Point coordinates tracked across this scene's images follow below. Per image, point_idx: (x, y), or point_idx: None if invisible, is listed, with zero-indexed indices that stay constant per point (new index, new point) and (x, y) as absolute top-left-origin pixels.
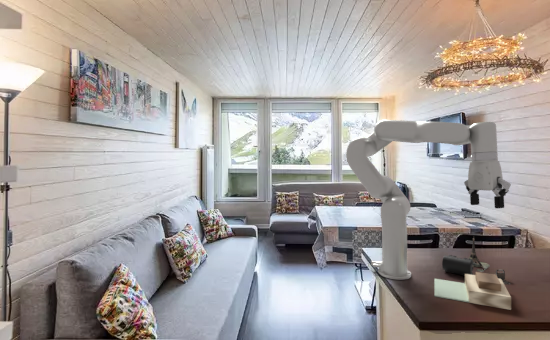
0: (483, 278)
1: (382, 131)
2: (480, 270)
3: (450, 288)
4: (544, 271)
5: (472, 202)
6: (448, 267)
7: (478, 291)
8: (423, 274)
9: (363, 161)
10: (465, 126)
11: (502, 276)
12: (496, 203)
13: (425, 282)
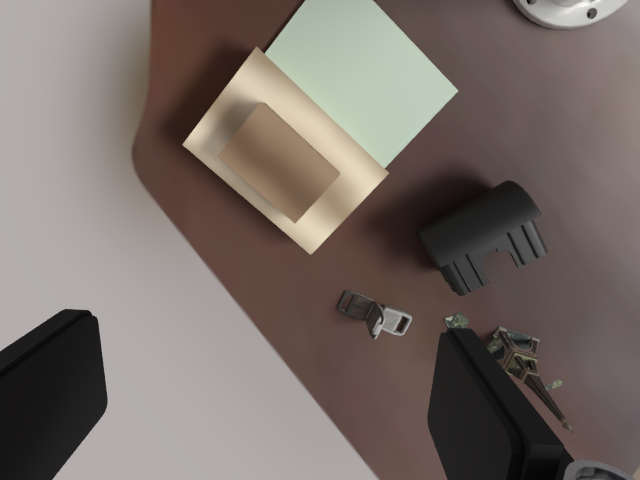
0: (276, 143)
1: None
2: (455, 323)
3: (364, 76)
4: (378, 476)
5: (452, 349)
6: (485, 192)
7: (242, 75)
8: (515, 87)
9: None
10: None
11: (371, 321)
12: (24, 345)
13: (448, 30)
